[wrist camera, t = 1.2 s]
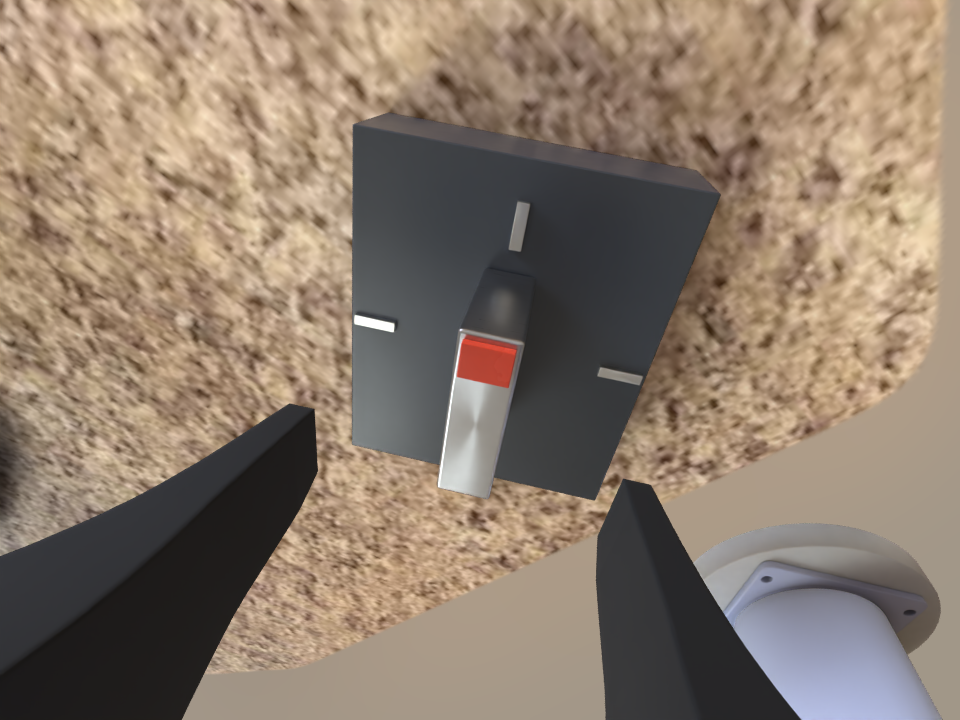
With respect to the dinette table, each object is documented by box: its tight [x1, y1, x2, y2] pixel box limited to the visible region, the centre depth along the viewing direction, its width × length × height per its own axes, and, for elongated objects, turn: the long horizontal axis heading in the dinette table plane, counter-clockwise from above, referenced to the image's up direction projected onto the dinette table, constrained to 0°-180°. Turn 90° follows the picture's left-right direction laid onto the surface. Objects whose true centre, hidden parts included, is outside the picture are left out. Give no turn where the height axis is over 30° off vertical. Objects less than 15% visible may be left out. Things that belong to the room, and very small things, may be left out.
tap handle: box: [437, 268, 536, 499], centre depth 14 cm, size 6×2×4 cm, turn 171°
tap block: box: [352, 113, 721, 500], centre depth 17 cm, size 12×10×3 cm
